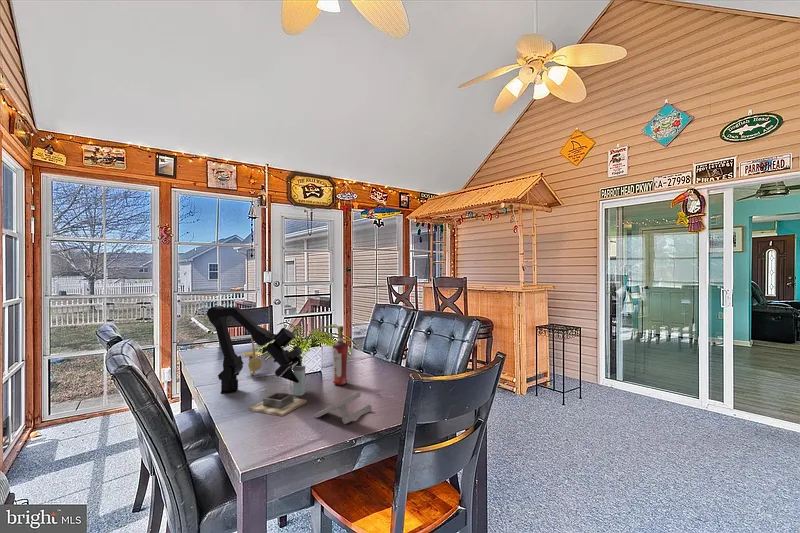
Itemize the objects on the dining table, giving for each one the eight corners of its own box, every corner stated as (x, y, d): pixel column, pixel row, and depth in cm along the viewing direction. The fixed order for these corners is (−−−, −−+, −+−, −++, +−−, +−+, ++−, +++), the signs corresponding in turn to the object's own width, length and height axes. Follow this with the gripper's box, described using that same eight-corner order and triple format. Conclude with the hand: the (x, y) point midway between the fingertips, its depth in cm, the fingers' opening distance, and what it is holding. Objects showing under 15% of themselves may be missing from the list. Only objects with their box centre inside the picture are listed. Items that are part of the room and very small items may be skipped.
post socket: (248, 410, 153) (248, 400, 153) (275, 397, 168) (275, 388, 168) (282, 416, 148) (282, 405, 148) (306, 402, 162) (306, 392, 162)
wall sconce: (264, 376, 200) (265, 328, 200) (245, 379, 195) (245, 329, 195) (258, 370, 212) (258, 324, 212) (240, 372, 207) (240, 326, 207)
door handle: (320, 435, 144) (355, 419, 134) (312, 414, 147) (346, 397, 137) (352, 419, 159) (386, 403, 149) (344, 400, 161) (377, 383, 151)
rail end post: (292, 395, 171) (292, 368, 171) (296, 392, 175) (296, 365, 175) (301, 395, 171) (302, 368, 171) (305, 392, 175) (305, 366, 175)
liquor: (329, 384, 188) (329, 326, 188) (341, 380, 193) (341, 324, 193) (338, 387, 183) (339, 328, 183) (350, 384, 188) (351, 326, 188)
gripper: (282, 345, 164) (307, 372, 163) (298, 337, 183) (321, 361, 182) (264, 363, 165) (289, 390, 164) (282, 353, 184) (304, 377, 182)
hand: (302, 379), depth 173 cm, fingers open, 9 cm apart
